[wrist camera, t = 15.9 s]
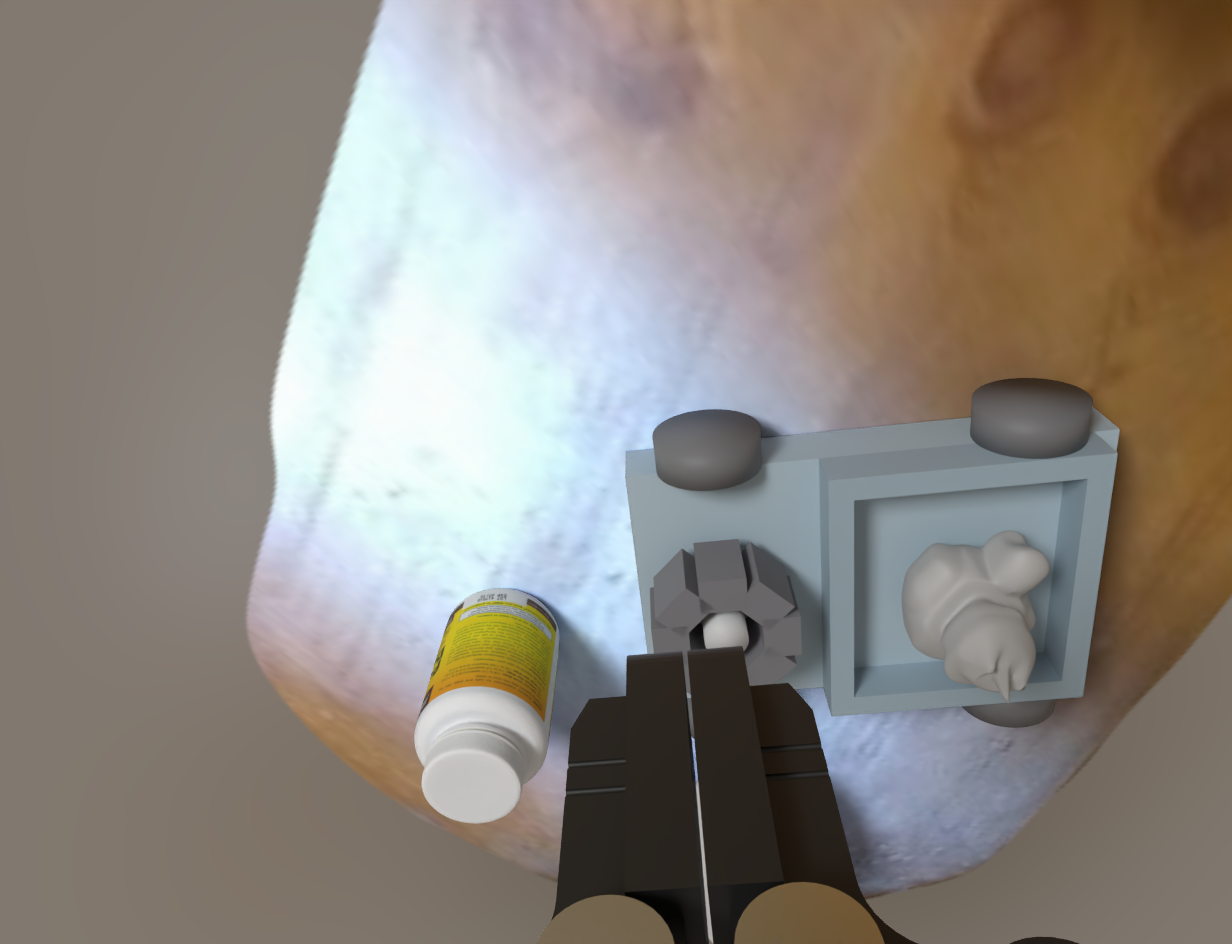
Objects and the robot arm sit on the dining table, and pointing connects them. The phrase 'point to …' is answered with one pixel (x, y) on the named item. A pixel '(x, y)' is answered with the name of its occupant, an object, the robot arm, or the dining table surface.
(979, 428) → the chassis
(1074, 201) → the dining table surface
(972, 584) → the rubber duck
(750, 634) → the spare wheel
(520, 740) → the supplement bottle
